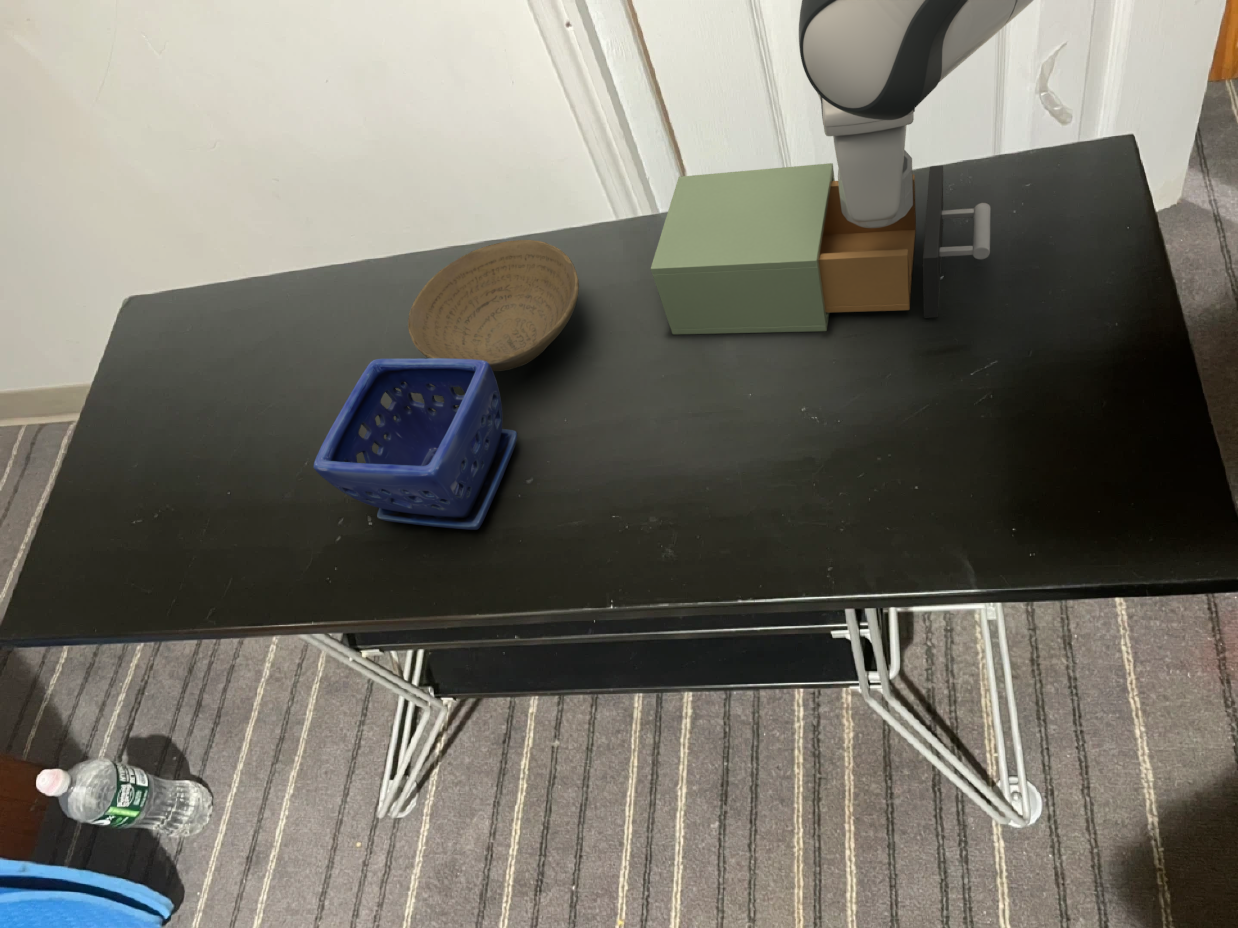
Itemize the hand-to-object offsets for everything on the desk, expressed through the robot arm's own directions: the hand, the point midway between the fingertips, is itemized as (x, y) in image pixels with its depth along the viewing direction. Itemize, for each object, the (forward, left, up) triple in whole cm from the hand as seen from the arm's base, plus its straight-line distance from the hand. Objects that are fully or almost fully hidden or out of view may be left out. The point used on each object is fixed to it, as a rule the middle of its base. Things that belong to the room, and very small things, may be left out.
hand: (876, 192), depth 80 cm
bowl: (+37, +9, -11) cm, 40 cm away
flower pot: (+38, +27, -11) cm, 48 cm away
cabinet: (+12, 0, -10) cm, 16 cm away
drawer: (0, 0, -10) cm, 10 cm away
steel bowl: (0, 0, -2) cm, 2 cm away
